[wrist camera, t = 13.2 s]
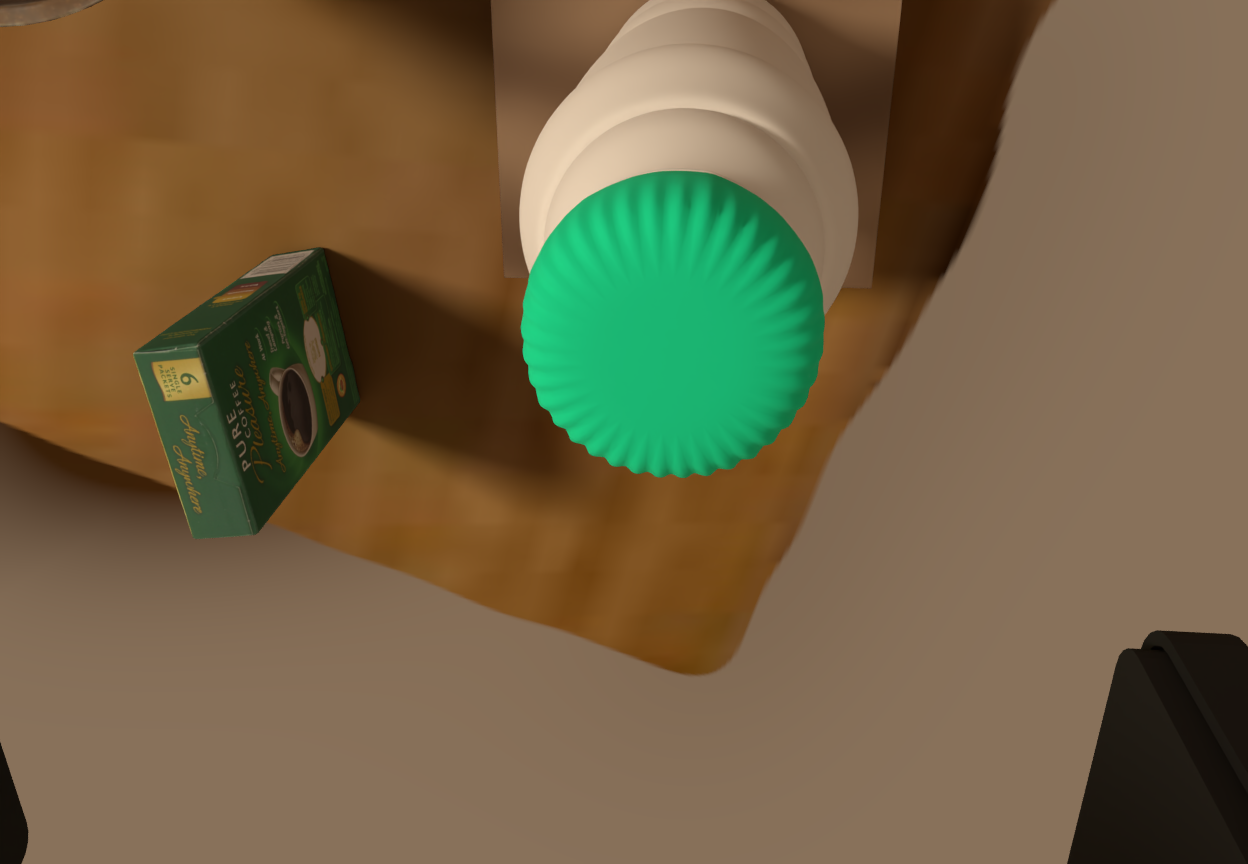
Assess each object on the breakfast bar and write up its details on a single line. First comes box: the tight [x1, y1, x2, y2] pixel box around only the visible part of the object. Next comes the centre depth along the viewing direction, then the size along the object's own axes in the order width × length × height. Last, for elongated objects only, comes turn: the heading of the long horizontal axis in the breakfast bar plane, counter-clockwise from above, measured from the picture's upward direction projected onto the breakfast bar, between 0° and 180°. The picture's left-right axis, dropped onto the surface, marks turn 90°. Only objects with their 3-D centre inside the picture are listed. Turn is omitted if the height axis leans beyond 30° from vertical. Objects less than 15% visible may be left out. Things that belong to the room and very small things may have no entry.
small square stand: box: [491, 0, 902, 288], centre depth 42 cm, size 14×14×7 cm
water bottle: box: [519, 0, 858, 478], centre depth 27 cm, size 7×7×25 cm
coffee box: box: [133, 247, 360, 539], centre depth 46 cm, size 8×3×13 cm, turn 7°
